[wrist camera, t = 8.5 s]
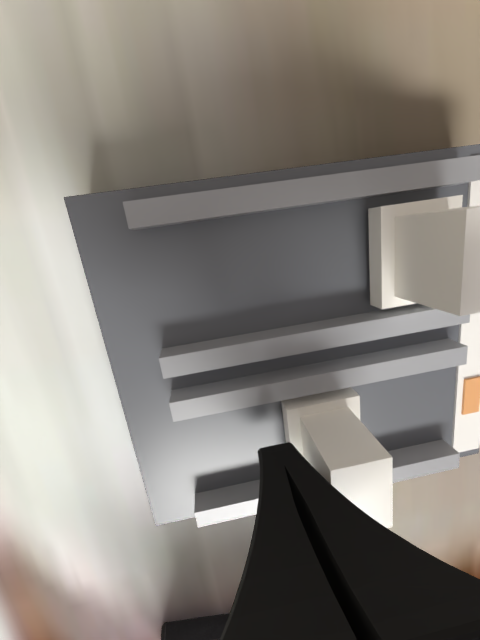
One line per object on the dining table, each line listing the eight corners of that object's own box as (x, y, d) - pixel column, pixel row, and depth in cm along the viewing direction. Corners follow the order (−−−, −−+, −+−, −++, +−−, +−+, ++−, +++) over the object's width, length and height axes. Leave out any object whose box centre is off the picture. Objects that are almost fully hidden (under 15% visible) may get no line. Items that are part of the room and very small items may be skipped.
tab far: (349, 386, 13) (408, 442, 9) (353, 456, 14) (406, 532, 10) (281, 399, 13) (313, 463, 9) (289, 470, 14) (321, 553, 10)
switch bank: (453, 157, 14) (536, 131, 10) (440, 423, 18) (497, 467, 14) (89, 205, 12) (49, 193, 9) (162, 483, 16) (152, 547, 13)
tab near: (444, 197, 11) (558, 179, 8) (440, 292, 12) (539, 314, 9) (368, 208, 11) (449, 194, 7) (370, 304, 12) (442, 332, 8)
